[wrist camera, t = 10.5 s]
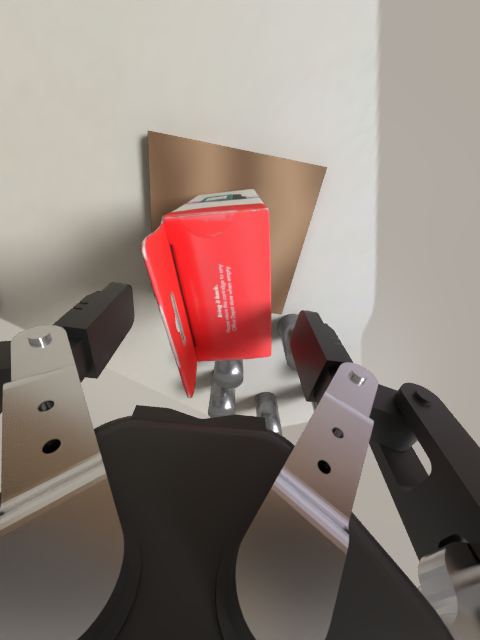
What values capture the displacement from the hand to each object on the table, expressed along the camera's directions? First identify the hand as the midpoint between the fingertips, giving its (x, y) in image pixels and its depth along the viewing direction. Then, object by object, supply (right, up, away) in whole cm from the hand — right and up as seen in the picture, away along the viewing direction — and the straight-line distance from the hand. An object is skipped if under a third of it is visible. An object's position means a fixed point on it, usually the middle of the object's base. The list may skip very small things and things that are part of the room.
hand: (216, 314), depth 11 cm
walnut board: (0, +8, +12) cm, 14 cm away
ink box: (0, +7, +11) cm, 13 cm away
